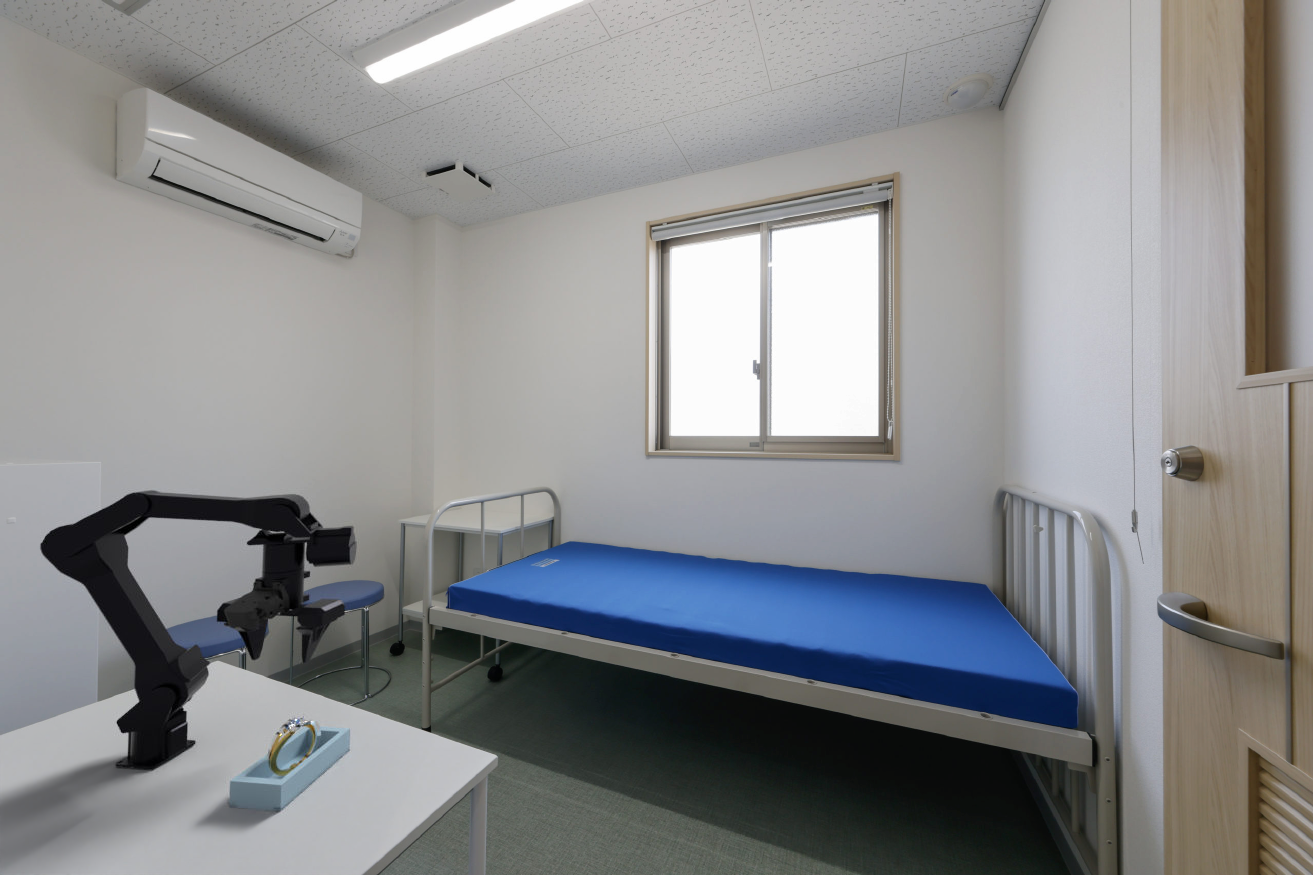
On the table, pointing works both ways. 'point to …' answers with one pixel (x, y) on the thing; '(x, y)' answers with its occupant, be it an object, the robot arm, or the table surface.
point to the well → (277, 791)
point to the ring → (290, 726)
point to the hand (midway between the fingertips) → (280, 660)
